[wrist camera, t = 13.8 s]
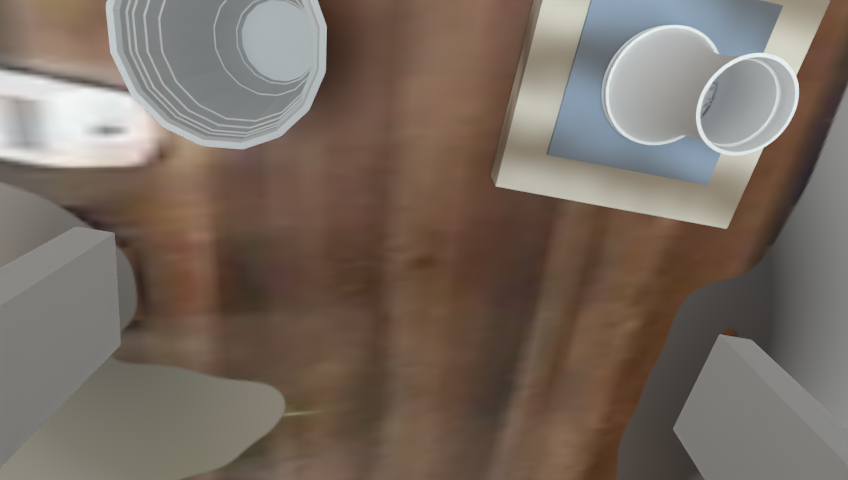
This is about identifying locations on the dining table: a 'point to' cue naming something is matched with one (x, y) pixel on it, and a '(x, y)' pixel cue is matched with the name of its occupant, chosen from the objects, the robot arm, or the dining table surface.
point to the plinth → (591, 131)
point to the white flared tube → (697, 92)
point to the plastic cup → (220, 64)
